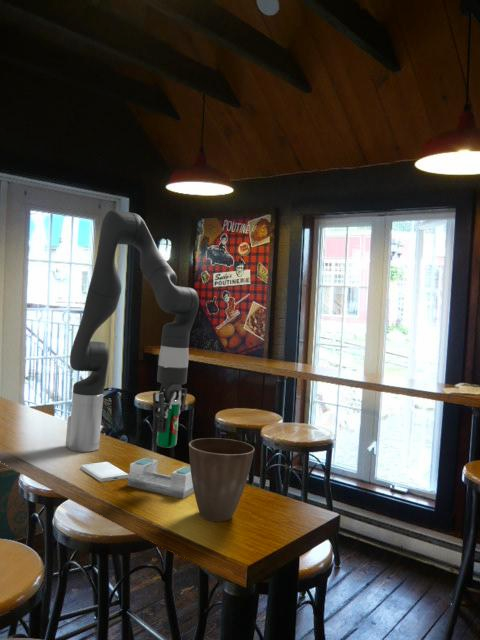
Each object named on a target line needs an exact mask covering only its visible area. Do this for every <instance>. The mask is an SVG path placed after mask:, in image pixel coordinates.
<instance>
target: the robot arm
mask: <svg viewBox="0 0 480 640" xmlns="http://www.w3.org/2000/svg"><path fill="white" fill-rule="evenodd" d="M98 238H99V239H98V244H97V245H98V246H97V251H96V258H95V263H94V268H93V271H92V274H91V279H90V281H89V286H88V290H87V294H86V297H85V302H84V306H83V307H84V308H83V311H82V315H81V319H80V322H79V326H78V329H77V332H76V335H75V338H74V341H73V344H72V346H71V349H70V350H71V351H70V355H69V356H70V357H69V365H70V368H71V369H72V370H73V371H78V372H90V375H89V376H88V375H87V377H85V378H83V379H82V380H79V381H76V382H75V383H73V386H72V397H71V399H72V400H71V409H70V415H69V416H68V417H67V422H66V423H67V426H66V433H65V434H66V435H65V448H68V449H69V450H70V451H74V452H83V453H84V452H85V453H87V452H94V451H95V452H96V451H97V450H99V448H100V440H101V439H100V438H101V426H102V416H103V406H104V405H103V404H104V392H105V391H104V390H105V387H106V384H107V383H106V381H107V373H108V366H109V358H110V351H109V346H108V345H107V343H105V342H103V341H91V340H92V338H93V336H94V334H95V333H96V332H97V330H98V329H99V328H100V327H101V326H102V325H103V324H104V323H105V322H106V321H107V320H108V319H109V318H110V317H112V316H113V314H114V313H115V311H116V310H117V307H118V305H119V302H120V297H121V294H122V282H121V278H120V275H119V273H118V271H117V267H116V264H115V262H116V261H115V259H116V258H115V257H116V251H117V248H118V245H125V246H131V245H132V246H133V247H134V248H136V250H138V252H139V253H140V258H139V259H140V260H139V268H140V270H141V272H142V273H141V274H143V276H144V277H145V279H146V280H147V282H148V283H149V285H150V286H151V287H152V289H153V292H154V296H155V298H156V299H155V300H156V302H157V305H158V306H159V308H160V309H161V310H162V311H164V312H165V313H168V314H175V317H174V319H173V321H171V322H168V323H165V324H164V325H163V327H162V332H161V339H160V340H161V341H160V342H161V343H160V350H159V355H158V364H157V365H158V367H157V377H156V380H157V382H158V383H160V384H161V385H160V388H159V392H153V393H152V407H153V408H152V410H153V411H152V412H153V416H154V417H155V416H156V417H157V418H158V421H157V431H158V432H160V433H166V431H167V420H168V418H167V417H168V413H169V410H171V409H172V404H173V401H174V399H177V400H178V399H179V403H180V409H179V415H180V414H181V412H184V409H185V404H186V398H187V393H188V389H187V388H182V385H185V384H187V380H188V372H189V371H188V369H189V360H190V359H189V358H190V355H189V352H190V351H189V350H190V349H189V345H190V337H191V335H190V333H191V331H192V328H193V325H194V322H195V319H196V317H197V313H198V311H199V307H200V298H199V296H198V292H197V291H196V290H195V289H194V288H192V287H187V286H180V285H179V286H178V285H177V282H178V276H177V274H176V272H175V271H174V270H173V268H172V267H171V266H170V264H169V263H168V262H167V260H166V259H165V258H164V256H163V255H162V254H161V252H160V250H159V249H158V247H157V244H156V243H155V240H154V239H153V236H152V234H151V233H150V230H149V228H148V226H147V224H146V222H145V220H144V219H143V218H142V217H141V215H139V214H137V213H135V212H129V211H123V210H114V209H112V210H108V211H107V212H106V213H105V215H104V217H103V219H102V222H101V226H100V232H99V237H98ZM164 403H167V404H168V403H169V404H168V405H164ZM164 408H165V413H164Z"/></svg>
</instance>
